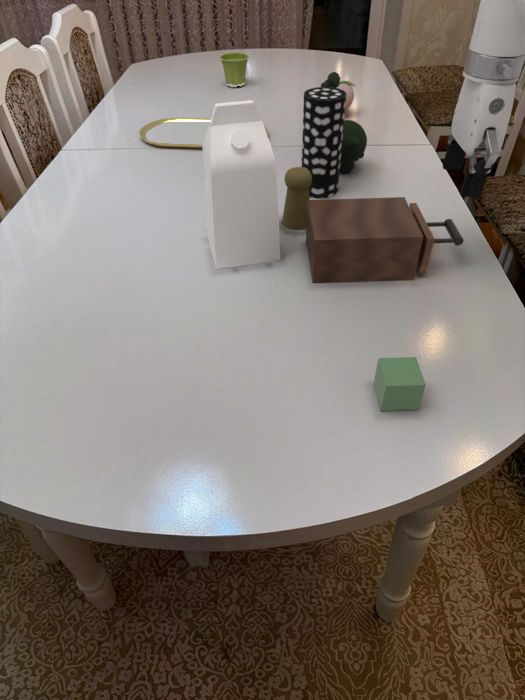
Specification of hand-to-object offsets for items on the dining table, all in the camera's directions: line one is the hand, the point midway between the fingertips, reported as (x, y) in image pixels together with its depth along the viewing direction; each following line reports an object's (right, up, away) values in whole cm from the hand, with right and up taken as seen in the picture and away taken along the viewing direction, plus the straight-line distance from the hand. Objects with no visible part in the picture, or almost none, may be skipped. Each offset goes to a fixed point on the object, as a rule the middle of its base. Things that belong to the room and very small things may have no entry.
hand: (460, 181), depth 81 cm
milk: (-36, -8, +14) cm, 40 cm away
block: (-15, -34, -14) cm, 39 cm away
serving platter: (-49, +30, +54) cm, 79 cm away
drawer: (-9, -10, +9) cm, 17 cm away
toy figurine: (-14, +19, +41) cm, 47 cm away
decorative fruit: (-11, +41, +63) cm, 76 cm away
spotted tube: (-20, +8, +30) cm, 37 cm away
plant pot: (-41, +61, +85) cm, 113 cm away
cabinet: (-15, -11, +10) cm, 21 cm away
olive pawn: (-26, -2, +20) cm, 32 cm away
